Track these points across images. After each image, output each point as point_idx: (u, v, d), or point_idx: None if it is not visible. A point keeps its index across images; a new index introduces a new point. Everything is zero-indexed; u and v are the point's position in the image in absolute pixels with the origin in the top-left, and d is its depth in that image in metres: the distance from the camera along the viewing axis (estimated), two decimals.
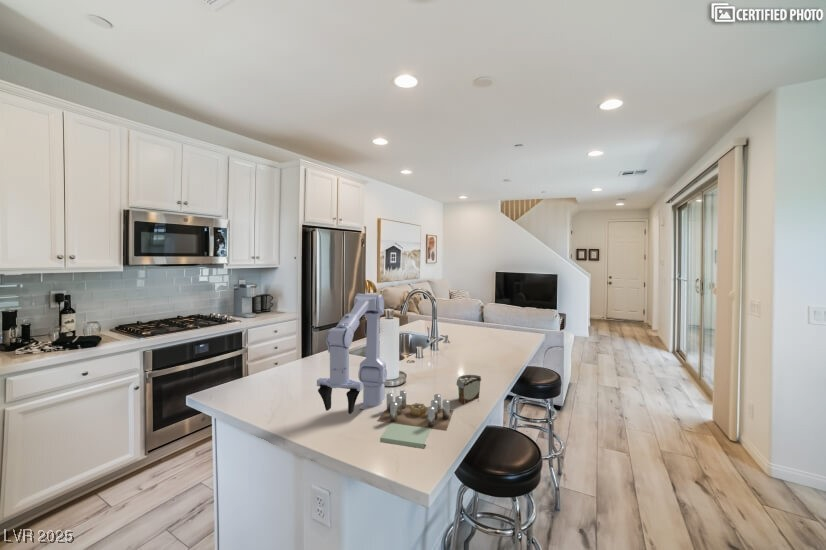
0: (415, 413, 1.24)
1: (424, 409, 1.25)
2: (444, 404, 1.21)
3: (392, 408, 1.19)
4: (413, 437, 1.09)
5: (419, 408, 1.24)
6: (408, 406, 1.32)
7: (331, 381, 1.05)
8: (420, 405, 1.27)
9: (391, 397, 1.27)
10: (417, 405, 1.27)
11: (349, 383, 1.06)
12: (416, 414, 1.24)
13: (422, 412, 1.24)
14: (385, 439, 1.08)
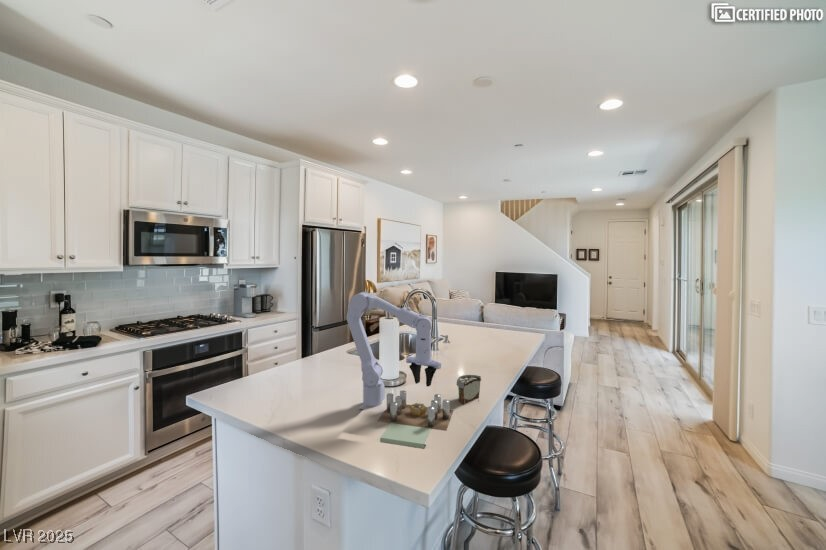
0: (415, 413, 1.24)
1: (424, 409, 1.25)
2: (444, 404, 1.21)
3: (392, 408, 1.19)
4: (413, 437, 1.09)
5: (419, 408, 1.24)
6: (408, 406, 1.32)
7: (416, 359, 1.31)
8: (420, 405, 1.27)
9: (391, 397, 1.27)
10: (417, 405, 1.27)
11: (430, 362, 1.31)
12: (416, 414, 1.24)
13: (422, 412, 1.24)
14: (385, 439, 1.08)
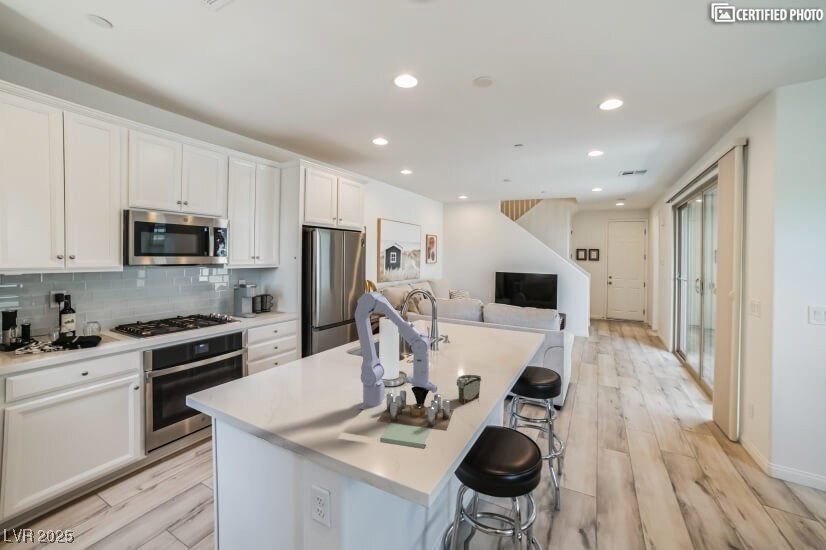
0: (415, 413, 1.24)
1: (424, 409, 1.25)
2: (444, 404, 1.21)
3: (392, 408, 1.19)
4: (413, 437, 1.09)
5: (419, 408, 1.24)
6: (408, 406, 1.32)
7: (413, 380, 1.29)
8: (419, 405, 1.27)
9: (391, 397, 1.27)
10: (417, 405, 1.26)
11: (427, 384, 1.27)
12: (416, 414, 1.23)
13: (422, 412, 1.24)
14: (385, 439, 1.08)
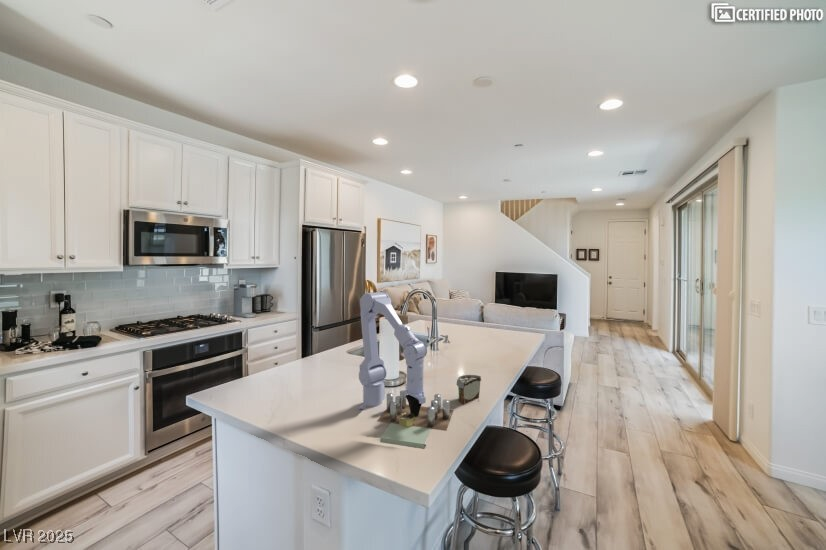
0: (402, 423, 1.16)
1: (412, 420, 1.17)
2: (444, 404, 1.21)
3: (392, 408, 1.19)
4: (413, 437, 1.09)
5: (406, 418, 1.16)
6: (408, 406, 1.32)
7: (407, 387, 1.22)
8: (409, 414, 1.19)
9: (391, 397, 1.27)
10: (406, 415, 1.19)
11: (418, 394, 1.18)
12: (403, 424, 1.16)
13: (409, 423, 1.16)
14: (385, 439, 1.08)
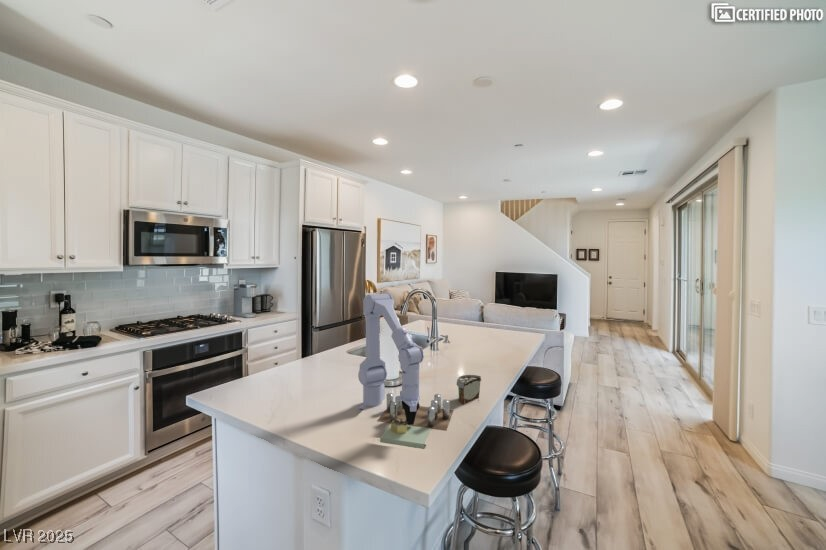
0: (393, 429, 1.12)
1: (403, 427, 1.11)
2: (444, 404, 1.21)
3: (392, 408, 1.19)
4: (413, 437, 1.09)
5: (397, 425, 1.12)
6: None
7: None
8: (403, 421, 1.14)
9: (391, 397, 1.27)
10: (399, 421, 1.14)
11: (411, 401, 1.12)
12: (394, 431, 1.12)
13: (400, 430, 1.11)
14: (385, 439, 1.08)
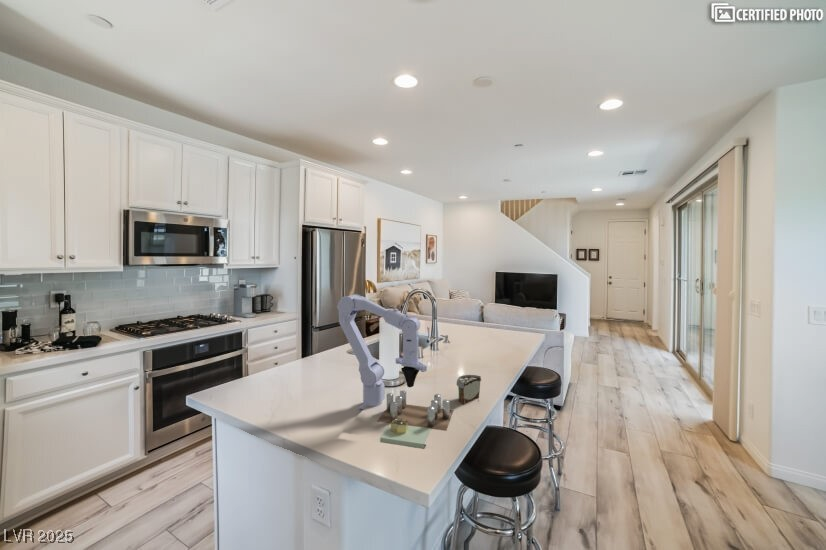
0: (393, 429, 1.12)
1: (403, 427, 1.11)
2: (444, 404, 1.21)
3: (392, 408, 1.19)
4: (413, 437, 1.09)
5: (397, 425, 1.12)
6: (408, 406, 1.32)
7: (403, 360, 1.30)
8: (402, 421, 1.14)
9: (391, 397, 1.27)
10: (399, 421, 1.14)
11: (416, 364, 1.28)
12: (394, 431, 1.12)
13: (400, 430, 1.11)
14: (385, 439, 1.08)
